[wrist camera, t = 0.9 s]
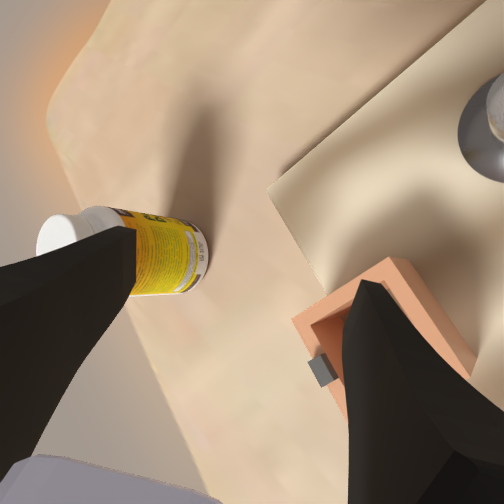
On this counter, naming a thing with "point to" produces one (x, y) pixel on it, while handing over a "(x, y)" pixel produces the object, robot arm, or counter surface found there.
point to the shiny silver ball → (484, 130)
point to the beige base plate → (414, 192)
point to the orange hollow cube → (413, 303)
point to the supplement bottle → (139, 246)
